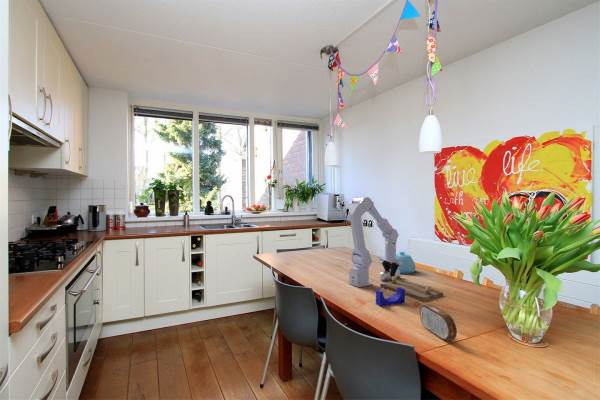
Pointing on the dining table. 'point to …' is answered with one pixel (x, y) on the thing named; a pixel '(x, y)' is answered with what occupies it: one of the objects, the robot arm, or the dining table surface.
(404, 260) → the sugar bowl
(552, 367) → the dining table surface
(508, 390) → the dining table surface
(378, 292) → the cable clip
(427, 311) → the speaker
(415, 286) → the peg rack
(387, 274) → the silver cylinder
